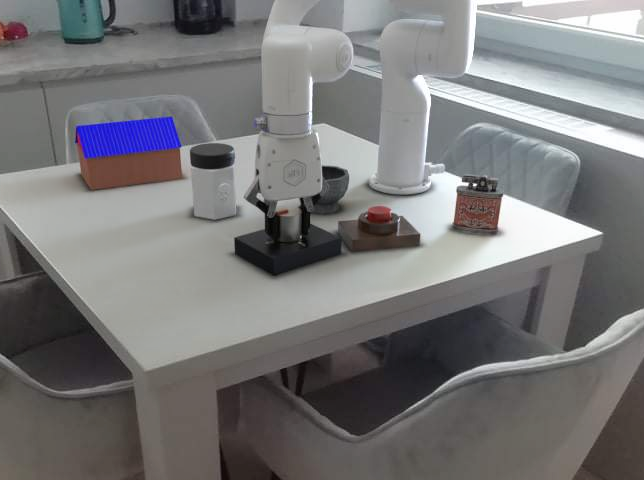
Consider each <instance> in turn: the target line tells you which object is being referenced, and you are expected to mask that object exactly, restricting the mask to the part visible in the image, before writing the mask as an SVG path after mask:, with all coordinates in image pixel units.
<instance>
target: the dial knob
mask: <svg viewBox="0 0 644 480" xmlns="http://www.w3.org/2000/svg"><path fill="white" fill-rule="evenodd" d="M275 216H276V217H277V218H278V239H277V241H280V242H295V241H298V240H300V239H301V238H302V210H301V209H299V208H298V206H290V205H289V206H280V207H276V211H275Z"/></svg>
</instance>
